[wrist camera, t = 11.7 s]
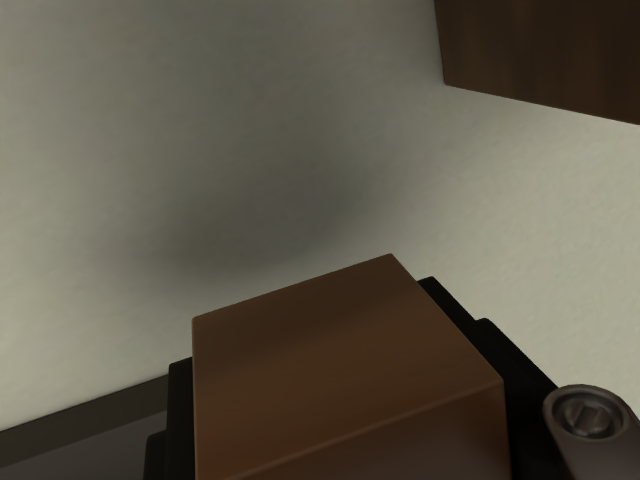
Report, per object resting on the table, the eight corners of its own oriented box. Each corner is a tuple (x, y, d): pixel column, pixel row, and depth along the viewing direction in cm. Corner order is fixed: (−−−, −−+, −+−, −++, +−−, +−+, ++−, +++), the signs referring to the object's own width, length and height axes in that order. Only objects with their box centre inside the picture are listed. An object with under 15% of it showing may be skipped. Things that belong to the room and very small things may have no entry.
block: (190, 316, 11) (193, 494, 7) (391, 250, 11) (505, 379, 7) (251, 465, 13) (281, 671, 9) (420, 403, 13) (523, 570, 9)
